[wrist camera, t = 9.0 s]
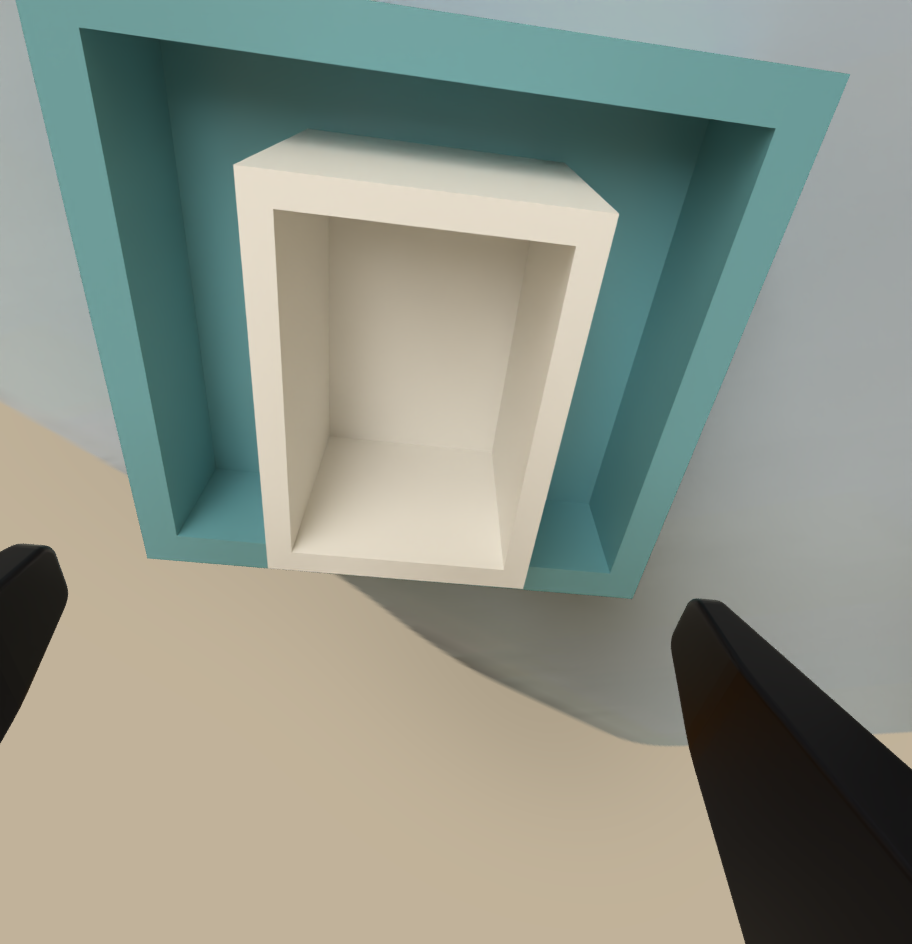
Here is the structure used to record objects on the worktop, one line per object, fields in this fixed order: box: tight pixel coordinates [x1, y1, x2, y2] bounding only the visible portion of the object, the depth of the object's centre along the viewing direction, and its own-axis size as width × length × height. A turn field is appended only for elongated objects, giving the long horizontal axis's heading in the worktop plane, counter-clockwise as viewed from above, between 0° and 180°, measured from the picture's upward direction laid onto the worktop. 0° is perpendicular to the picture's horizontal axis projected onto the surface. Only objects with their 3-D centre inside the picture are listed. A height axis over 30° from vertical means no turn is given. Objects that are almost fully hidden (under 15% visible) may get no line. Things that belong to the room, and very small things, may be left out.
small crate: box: [233, 129, 619, 589], centre depth 15 cm, size 6×9×6 cm
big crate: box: [16, 0, 850, 599], centre depth 16 cm, size 15×14×4 cm
